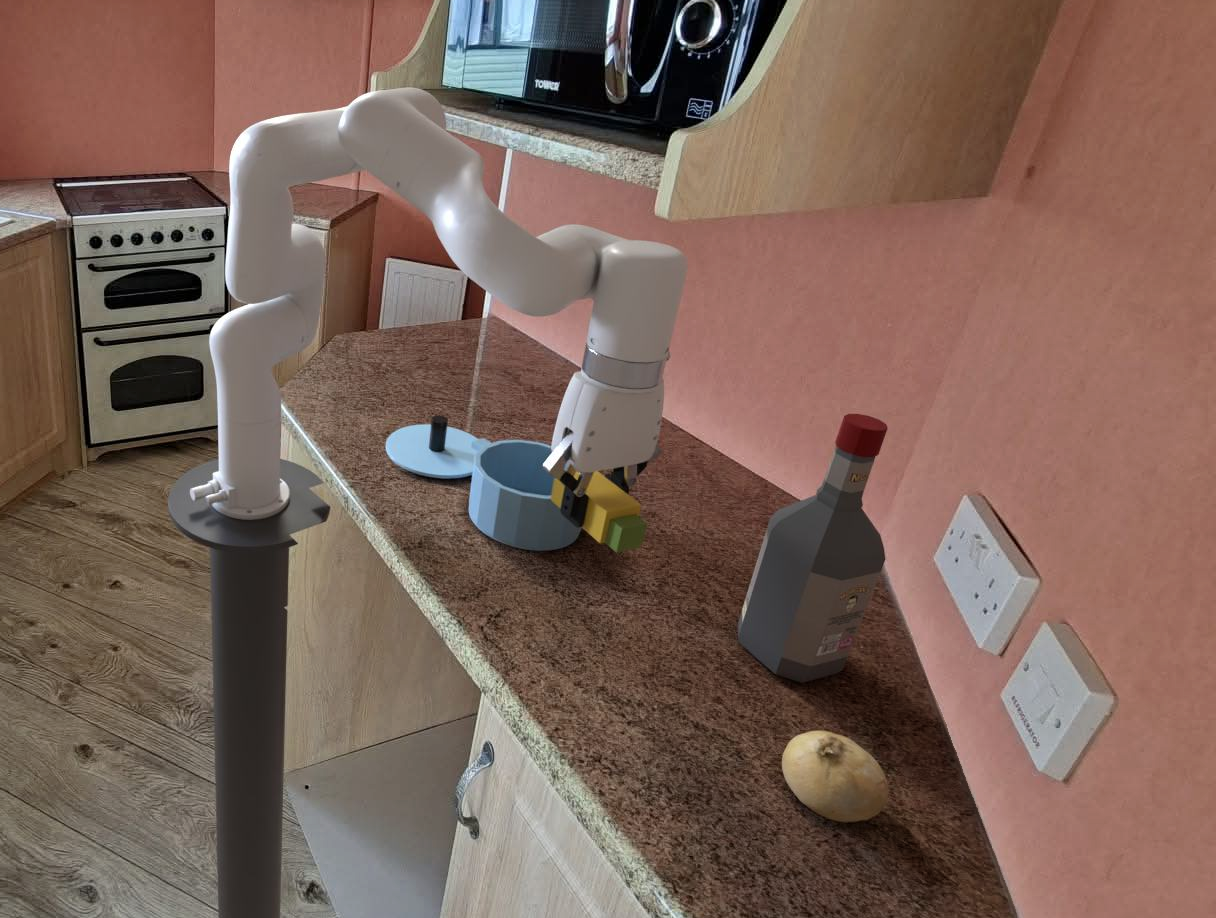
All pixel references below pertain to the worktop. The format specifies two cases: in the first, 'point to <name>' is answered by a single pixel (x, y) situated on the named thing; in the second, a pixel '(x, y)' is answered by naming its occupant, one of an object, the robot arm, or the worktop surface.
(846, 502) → the liquor
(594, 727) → the worktop surface
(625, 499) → the corn
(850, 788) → the onion
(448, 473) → the lid
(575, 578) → the worktop surface
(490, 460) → the pot
